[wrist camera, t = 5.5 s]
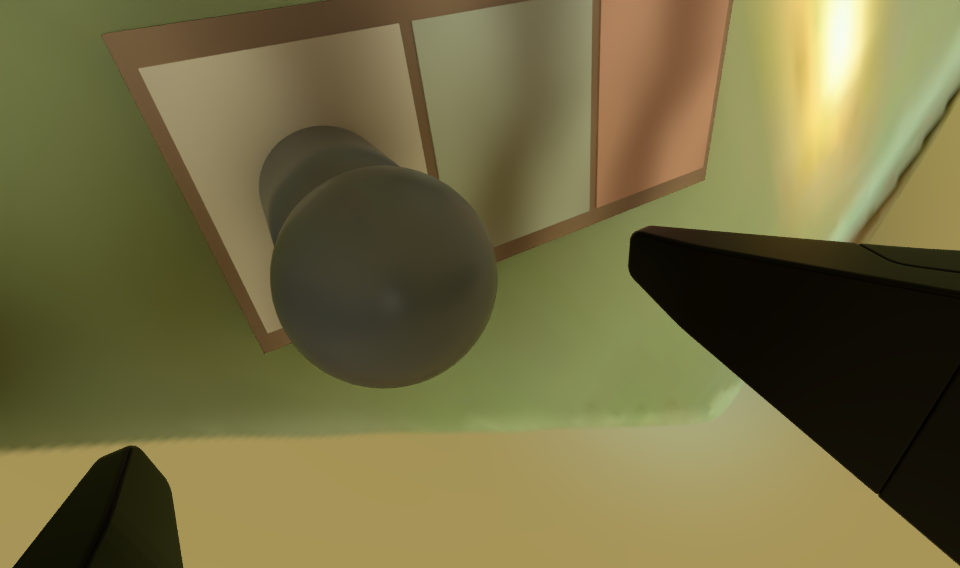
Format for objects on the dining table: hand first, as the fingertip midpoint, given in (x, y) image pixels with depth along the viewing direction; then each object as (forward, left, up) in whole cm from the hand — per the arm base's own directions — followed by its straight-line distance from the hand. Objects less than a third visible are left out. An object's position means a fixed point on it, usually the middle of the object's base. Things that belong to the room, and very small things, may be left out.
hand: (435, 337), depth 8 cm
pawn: (0, 0, -9) cm, 9 cm away
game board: (+7, 0, -10) cm, 12 cm away
